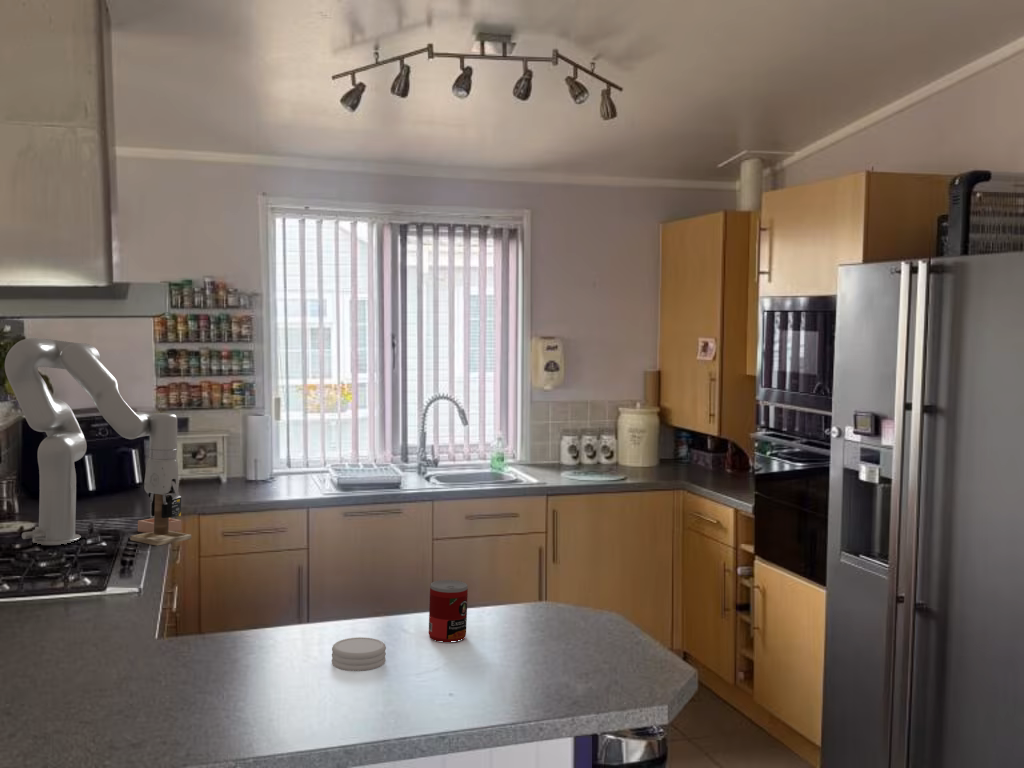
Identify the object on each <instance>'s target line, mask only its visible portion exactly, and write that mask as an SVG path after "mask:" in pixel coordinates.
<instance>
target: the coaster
mask: <svg viewBox="0 0 1024 768" xmlns="http://www.w3.org/2000/svg"><path fill="white" fill-rule="evenodd" d="M386 649H387V645H386V644H385V643H384V642H383V641H381V640H380V639H376V638H372V637H361V636H360V637H349V638H345V639H341V640H339V641H336V642H335V643H334V644H332V647H331V651H332V654H331V663H332V665H333V666H334V668H336V669H339V670H341V671H347V672H367V671H373V670H375V669H379V668H381V667H382V666H384V664H385V663H386V656H387V655H386V654H387V653H386Z"/></svg>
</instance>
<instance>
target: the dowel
mask: <svg viewBox="0 0 1024 768" xmlns="http://www.w3.org/2000/svg"><path fill="white" fill-rule="evenodd" d="M166 494H167V493H166ZM168 497H169V495H168V496H167V498H168ZM163 504H164V503H163V495H161V494H155V512H154V517H153V518H154V534H155V535H165V534H168V529H169V517H168V518H162V505H163Z"/></svg>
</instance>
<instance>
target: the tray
mask: <svg viewBox="0 0 1024 768" xmlns="http://www.w3.org/2000/svg"><path fill="white" fill-rule="evenodd" d="M129 539H130V540H129V541H133V542H138V543H144V544H146V545H153V546H156V547H157V546H163V545H168V544H173V543H178V542H183V541H188V540H192V534H189V533H185V532H180V531H176V532H174V531H168V534H165V535H155V534H154V532H150V533H144V532H143V533H139V534H132V535H130V538H129Z"/></svg>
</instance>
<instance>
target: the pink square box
mask: <svg viewBox="0 0 1024 768" xmlns="http://www.w3.org/2000/svg"><path fill="white" fill-rule="evenodd" d="M168 531H174V532H180V531H182V519H176V518H173V517H171V518H169V529H168ZM137 532H140V533H143V534H144V533H150V532H154V517H153V518H146V519H141V520H140V519H139V520H137Z"/></svg>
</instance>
